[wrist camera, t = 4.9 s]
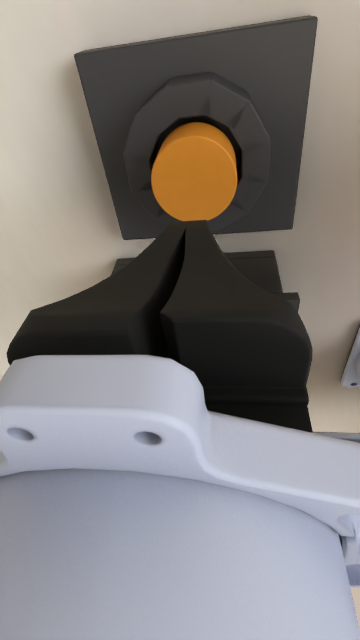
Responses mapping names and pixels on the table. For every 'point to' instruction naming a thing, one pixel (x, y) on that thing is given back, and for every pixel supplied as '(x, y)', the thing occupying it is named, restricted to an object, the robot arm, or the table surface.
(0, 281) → the table surface
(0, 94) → the table surface
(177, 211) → the button
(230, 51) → the orange push button box
